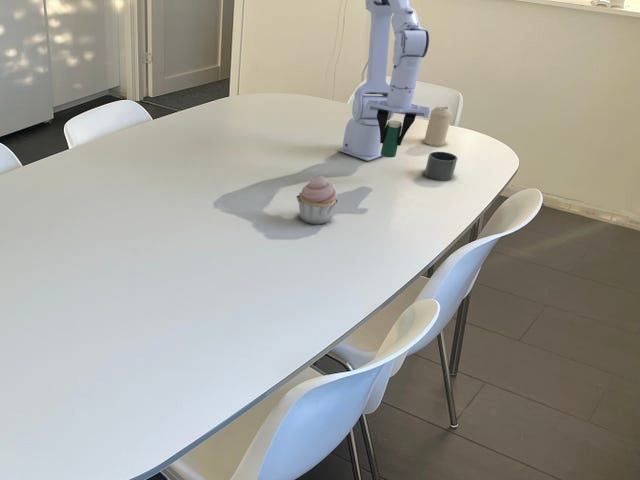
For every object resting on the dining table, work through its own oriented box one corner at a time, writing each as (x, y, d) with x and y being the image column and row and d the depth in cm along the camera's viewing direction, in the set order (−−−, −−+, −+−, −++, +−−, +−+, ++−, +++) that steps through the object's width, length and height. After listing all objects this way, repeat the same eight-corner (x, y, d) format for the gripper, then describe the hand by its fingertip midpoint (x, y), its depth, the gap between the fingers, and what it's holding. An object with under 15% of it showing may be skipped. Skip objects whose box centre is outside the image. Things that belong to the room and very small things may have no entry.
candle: (441, 140, 209) (450, 104, 204) (446, 146, 205) (455, 110, 199) (422, 138, 210) (430, 103, 204) (426, 145, 205) (434, 109, 199)
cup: (419, 174, 187) (423, 155, 184) (434, 168, 191) (439, 149, 188) (442, 182, 183) (447, 163, 180) (457, 176, 187) (462, 157, 184)
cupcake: (343, 218, 164) (351, 176, 158) (320, 231, 158) (328, 187, 153) (308, 206, 169) (315, 164, 163) (285, 218, 164) (291, 175, 158)
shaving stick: (377, 154, 180) (384, 121, 175) (386, 151, 182) (393, 119, 177) (389, 158, 178) (396, 125, 173) (398, 155, 180) (405, 122, 175)
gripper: (368, 86, 169) (358, 144, 177) (433, 94, 165) (419, 152, 173) (372, 78, 174) (361, 135, 182) (435, 86, 170) (422, 143, 178)
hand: (390, 143), depth 178 cm, fingers closed on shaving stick, 3 cm apart
